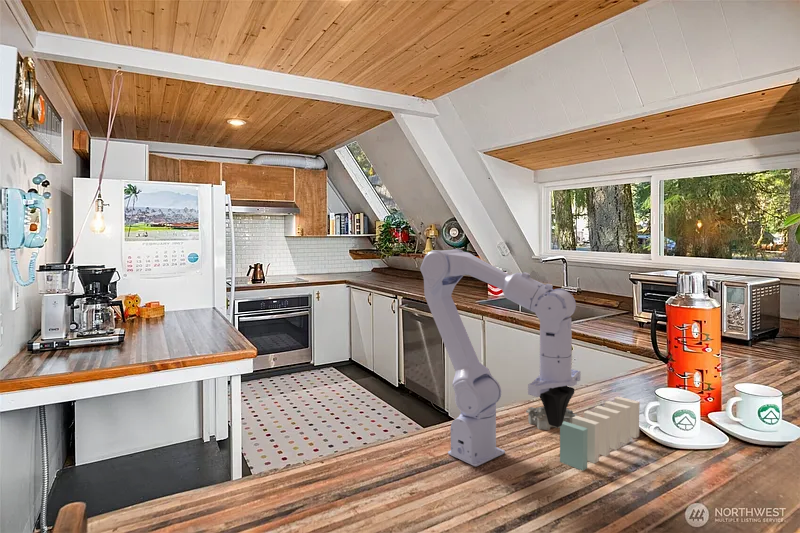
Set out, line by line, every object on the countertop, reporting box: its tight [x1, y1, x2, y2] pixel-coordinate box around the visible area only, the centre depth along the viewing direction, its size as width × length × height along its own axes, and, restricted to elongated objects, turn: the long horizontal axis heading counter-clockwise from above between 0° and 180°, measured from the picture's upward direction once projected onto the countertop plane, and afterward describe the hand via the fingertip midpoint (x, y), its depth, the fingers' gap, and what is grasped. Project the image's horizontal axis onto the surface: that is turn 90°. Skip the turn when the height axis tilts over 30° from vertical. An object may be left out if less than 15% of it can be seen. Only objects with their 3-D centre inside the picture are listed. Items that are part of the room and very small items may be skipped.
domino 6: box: [614, 396, 641, 439], centre depth 111 cm, size 2×5×8 cm, turn 40°
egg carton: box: [525, 405, 578, 431], centre depth 119 cm, size 11×8×4 cm
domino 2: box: [572, 415, 600, 464], centre depth 100 cm, size 2×5×8 cm, turn 40°
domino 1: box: [559, 421, 588, 472], centre depth 97 cm, size 2×5×8 cm, turn 40°
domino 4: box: [593, 405, 621, 451], centre depth 105 cm, size 2×5×8 cm, turn 40°
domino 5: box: [604, 400, 631, 445], centre depth 108 cm, size 2×5×8 cm, turn 40°
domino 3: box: [583, 409, 611, 457], centre depth 102 cm, size 2×5×8 cm, turn 40°
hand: (555, 424), depth 92 cm, fingers closed
